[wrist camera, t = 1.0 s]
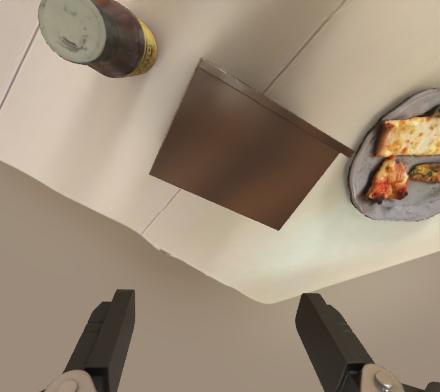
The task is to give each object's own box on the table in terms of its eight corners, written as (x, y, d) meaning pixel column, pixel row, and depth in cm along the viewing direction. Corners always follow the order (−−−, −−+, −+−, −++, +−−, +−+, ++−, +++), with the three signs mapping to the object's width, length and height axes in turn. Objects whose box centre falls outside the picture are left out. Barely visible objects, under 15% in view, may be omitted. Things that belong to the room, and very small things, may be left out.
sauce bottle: (132, 83, 35) (69, 107, 18) (99, 39, 32) (-15, 16, 15) (170, 54, 34) (141, 50, 16) (138, 6, 31) (64, -62, 14)
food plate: (327, 213, 48) (336, 224, 45) (372, 82, 37) (387, 84, 34) (443, 216, 51) (459, 227, 48) (517, 94, 40) (543, 98, 37)
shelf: (162, 140, 39) (145, 182, 26) (200, 57, 34) (201, 57, 21) (258, 186, 45) (283, 240, 31) (302, 120, 39) (355, 151, 26)
